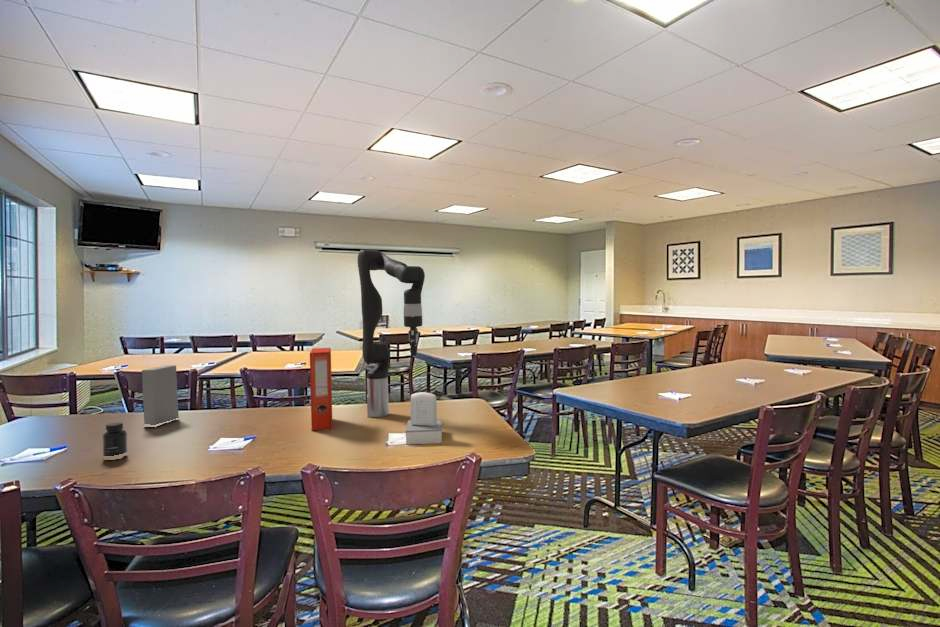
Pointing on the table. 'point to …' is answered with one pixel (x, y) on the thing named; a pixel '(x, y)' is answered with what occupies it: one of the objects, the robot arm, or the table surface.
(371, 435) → the table surface
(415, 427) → the plinth
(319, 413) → the file binder
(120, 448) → the supplement bottle
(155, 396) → the grey upright panel
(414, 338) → the robot arm
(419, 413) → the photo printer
